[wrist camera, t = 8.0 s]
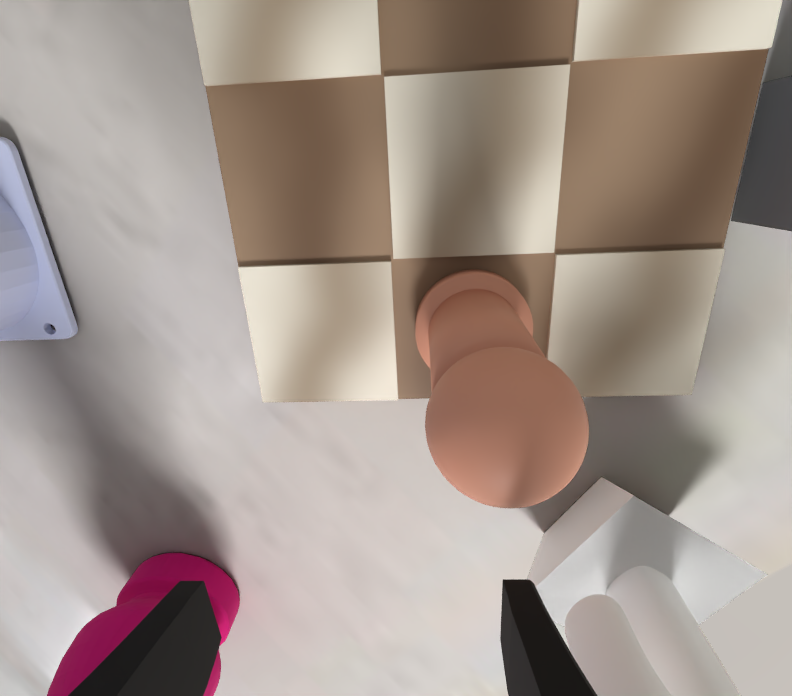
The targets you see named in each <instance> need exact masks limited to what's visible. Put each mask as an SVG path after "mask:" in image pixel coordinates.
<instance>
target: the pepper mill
mask: <svg viewBox="0 0 792 696" xmlns="http://www.w3.org/2000/svg"><path fill="white" fill-rule="evenodd" d="M179 581H204V582H205V586H206V589H207V592H208V595H209V598H210V602H211V605H212V608H213V611H214V614H215V618H216V621H217V624H218V627H219V630H220V634H221V637H222V639H221V642H220V645H221V644H222V643H223V642H224V641H225V640H226V638H227V636H228V634H229V631H230V629H231V626H232V624H233V622H234V619H235V617H236V615H237V612H238V609H239V602H240V599H239V594H238V590H237V588H236V586H235V584H234V582H233V581H232V579H231V578H230V577H229V576H228V575H227V574H226V573H225V572H224V571H223V570H222V569H221V568H219V567H218V566H216V565H215V564H213V563H212V562H210V561H207V560H205V559H203V558H201V557H198V556H193V555H189V554H184V553H165V554H161V555H157V556H153V557H151V558H149V559H148V560H146V561H144V562H143V563H142V564H140V566H139V567H138V568H137V569H136V570H135V572H134V573H133V575H132V576H131V578H130V579H129V580H128V582H127V583H126V585H125V586H124V587H123V589H122V590H121V592H120V593H119V595H118V598H117V606H115V607H113V608H111V609H109V610H107V611H105V612H102V613H100V614H99V615H98V616H96V617H95V618H93V619H92V620H91V621H90V622H88V623H87V624H86V625H85V626H84V627H83V628H82V630H81V631H80V632H79V633H78V634H77V636H76V638H75V639H74V641H73V642H72V644H71V646H70V647H69V649H68V650H67V652H66V654H65V655H64V657H63V658H62V660H61V663H60V665H59V667H58V669H57V672H56V674H55V676H54V679H53V681H52V683H51V686H50V688H49V691H48V694H47V696H68V695H69V694H70V693H71V692H72V691H73V690H74V689H75V688H76V687H77V686H78V685H79V684H80V683H81V682H82V681H83V680H84V679H85V678H86V677H87V676H88V675H89V674H90V673H91V672H92V671H93V670H94V669H95V668H96V667H97V666H98V665H99V664H100V663H101V662H102V661H103V660H104V659H105V658H106V657H107V656H108V655H109V654H110V653H111V652H112V651H113V650H114V649H115V648H116V647H117V646H118V645H119V644H120V643H121V642H122V641H123V640H124V639H125V638H126V637H127V636H128V634H129V633H130V632H131V631H132V630H133V629H134V628H135V627H136V626H137V625H138V624H139V623H140V622H141V621H142V620H143V619H144V618H145V617H146V616H147V615H148V613H149V612H150V611H151V610H152V609H153V608H154V607H155V606H156V605H157V604H158V603H159V602H160V601H161V600H162V599H163V598H164V597H165V596H166V595H167V594H168V593H169V592H170V591H171V590H172V589H173V587H174V586H175V585H176V584H177V583H178V582H179ZM220 645H219V646H220ZM220 672H221V660H220V654H219V650H218V652H217V656H216V659H215V663H214V666H213V669H212V672H211V675H210V678H209V682H208V685H207V688H206V690H205V693H204V695H203V696H213V695H214V693H215V691H216V688H217V686H218V683H219V679H220Z"/></svg>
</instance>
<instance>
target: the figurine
mask: <svg viewBox="0 0 792 696" xmlns="http://www.w3.org/2000/svg"><path fill="white" fill-rule="evenodd" d="M767 575H768V574H766V573H765V572H763V571H761V570H759V569H758V568H756V567H754V566H753V565H751V564H749V563H748V562H746V561H744V560H742V559H741V558H739V557H737V556H736V555H734V554H732V553H731V552H729V551H727V550H725V549H724V548H722V547H720V546H719V545H717V544H715V543H714V542H712V541H710V540H708V539H707V538H705V537H703V536H702V535H700V534H698V533H697V532H695V531H693V530H691V529H690V528H688V527H686V526H685V525H683V524H681V523H680V522H678V521H676V520H674V519H673V518H671V517H669V516H668V515H666V514H664V513H663V512H661V511H659V510H657V509H656V508H654V507H652V506H651V505H649V504H647V503H645V502H644V501H642V500H640V499H639V498H637V497H635V496H634V495H632V494H630V493H628V492H627V491H625V490H623V489H622V488H620V487H618V486H616V485H615V484H613V483H611V482H610V481H608V480H606V479H604V478H603V477H601V478H600V479H599V480H598V481H597V482H596V483H595V484H594V485H593V486H592V487H591V488H590V489H588V490H587V491H586V492H585V493H584V494H583V495H582V496H581V497H580V498H579V499H578V500H577V501H576V502H575V503H574V504H573V505H572V506H571V507H570V508H569V509H568V510H567V511H566V512H565V513H564V514H563V515H562V516H561V517H560V518H559V519H558V520H557V521H556V522H555V523H554V524H553V525H552V526H551V527H550V528H549V529H548V530H547V531H546V532H545V533H544V534H543V537H542V539H541V542H540V545H539V548H538V550H537V553H536V556H535V558H534V561H533V564H532V567H531V569H530V572H529V575H528V577H527V580H531V581H532V582H533V583H534V584H535V587H536V589H537V591H538V593H539V595H540V597H541V599H542V601H543V603H544V605H545V607H546V609H547V611H548V613H549V615H550V617H551V619H552V620H553V622H555V623H557V624H559V625H561V626H563V627H565V634H566V638H567V642H568V645H569V648H570V652H571V654H572V655H573V657H574V659H575V660H576V662H577V664H578V665H579V667H580V668H581V670H582V672H583V673H584V675H585V677H586V678H587V680H588V681H589V683H590V685H591V686H592V688H593V689H594V691H595V693H596V694H597V696H741V694H740V692H739V691H738V689H737V687H736V686H735V684H734V682H733V681H732V679H731V678H730V676H729V674H728V673H727V671H726V669H725V668H724V666H723V664H722V663H721V661H720V659H719V658H718V656H717V654H716V653H715V651H714V650H713V648H712V646H711V645H710V643H709V641H708V640H707V638H706V636H705V635H704V633H703V631H702V630H701V628H700V626H699V625H700V624H701V623H702V622H704V621H705V620H706V619H708V618H709V617H711V616H712V615H713V614H715V613H716V612H717V611H719V610H720V609H722V608H723V607H724V606H726V605H727V604H728V603H730V602H731V601H732V600H734V599H735V598H737V597H738V596H739V595H741V594H742V593H743V592H745V591H746V590H747V589H749V588H750V587H752V586H753V585H754V584H756V583H757V582H758V581H760V580H761V579H763V578H764V577H765V576H767Z"/></svg>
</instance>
